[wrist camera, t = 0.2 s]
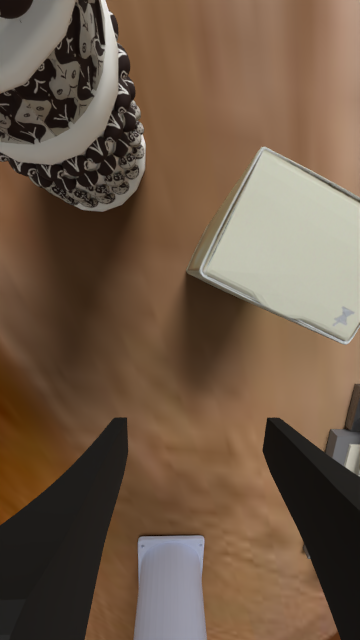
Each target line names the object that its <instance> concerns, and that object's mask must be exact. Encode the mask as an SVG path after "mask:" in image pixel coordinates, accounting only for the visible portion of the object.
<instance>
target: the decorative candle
mask: <svg viewBox="0 0 360 640" xmlns="http://www.w3.org/2000/svg"><path fill="white" fill-rule="evenodd" d="M117 40H118V24H117V21H116V18H115V16H114V15H113V14H112V12H110V11H109V10H108V7H107V4H106V1H105V0H0V161H1V162H4V161H9V164H10V165H11V167H12V168H13V169H14V170H15V171H16V172H17V173H19V174H22V175H25V176H28V177H29V178H30V179H31V181H32V182H33V183H34V184H36V185H37V186H39V187H41V188H45V189H46V190H47V191H48V192H49V193H50V194H52V195H55V196H56V197H58V198H61V199H62V200H64V201H65V202H66V203H68V204H70V205H74V206H76V207H78V208H80V209H81V210H88V211H100V212H104V211H107V210H109V209H112V208H115V207H117V206H120V205H122V204H123V203H124V202H125V201H126V200H127V199H128V198H129V197H130V196H131V195H132V194H133V193H134V192H135V191H136V190H137V188H138V186H139V183H140V181H141V178H142V176H143V173H144V171H145V154H146V144H145V141H144V137H143V133H144V128H143V125H142V124H141V123H140V122H139V121H138V120H139V119H140V117H141V112H140V109H139V107H138V106H137V105H136V103H135V101H134V100H133V99H134V97H135V87H134V84H133V82H132V80H131V79H130V78H129V77H128V74H129V71H130V61H129V58H128V55H127V53H126V51H125V50H124V48H123V47H122V46H121V45H120V44H118V43H117Z"/></svg>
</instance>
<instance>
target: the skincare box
mask: <svg viewBox="0 0 360 640" xmlns="http://www.w3.org/2000/svg"><path fill="white" fill-rule="evenodd" d="M186 272H187V273H188V274H190V275H192V276H194V277H196V278H198V279H200V280H202V281H204V282H206V283H208V284H210V285H212V286H214V287H216V288H218V289H220V290H223V291H225V292H227V293H229V294H231V295H234V296H236V297H238V298H240V299H243V300H245V301H247V302H249V303H251V304H254V305H256V306H258V307H260V308H262V309H265V310H267V311H269V312H271V313H273V314H276V315H278V316H280V317H282V318H285V319H287V320H289V321H291V322H294V323H296V324H298V325H300V326H303V327H305V328H307V329H309V330H312V331H314V332H316V333H318V334H321V335H323V336H325V337H327V338H330V339H332V340H334V341H337V342H339V343H341V344H345V345H346V344H348V343H349V342H350V341H351V340H352V338H353V337H354V335H355V334H356V332H357V330H358V329H359V327H360V197H358V196H356V195H355V194H353V193H351V192H349V191H348V190H346V189H344V188H342V187H340V186H338V185H337V184H335V183H333V182H331V181H329V180H328V179H326V178H324V177H322V176H320V175H318V174H316V173H315V172H313V171H311V170H309V169H307V168H306V167H303V166H301V165H299V164H297V163H295V162H294V161H292V160H290V159H288V158H286V157H284V156H282V155H280V154H278V153H276V152H274V151H272V150H270V149H268V148H267V147H262V148H261V149H260V150H259V151H258V152H257V154H256V155H255V156H254V158H253V160H252V161H251V163H250V164H249V166H248V167H247V169H246V170H245V172H244V173H243V175H242V176H241V178H240V179H239V180H238V182H237V183H236V185H235V186H234V188H233V189H232V191H231V192H230V193H229V195H228V196H227V198H226V199H225V201H224V202H223V204H222V205H221V207H220V208H219V210H218V211H217V213H216V214H215V216H214V217H213V218H212V220H211V221H210V223H209V224H208V226H207V227H206V229H205V231H204V233H203V235H202V237H201V239H200V241H199V243H198V245H197V247H196V250H195V252H194V254H193V256H192V258H191V260H190V262H189V265H188V267H187V269H186Z"/></svg>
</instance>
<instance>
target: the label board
mask: <svg viewBox="0 0 360 640" xmlns="http://www.w3.org/2000/svg"><path fill="white" fill-rule="evenodd" d="M325 453H326V454H327V455H329V456H330V457H331V458H333V459H334V460H336V461H337V462H339V463H340V464H341V465H343V466H344V467H346V468H347V469H349V470H350V471H352V472H353V473H355V474H356V475H358V474H359V471H360V431H351V430H349V429H331V430H330V435H329V439H328V443H327V448H326V452H325ZM303 549H304V551H305V553H306V556H307V558H308V559H310V556H309V554H308V551H307V549H306V546H305V544H304V547H303Z"/></svg>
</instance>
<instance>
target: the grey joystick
mask: <svg viewBox="0 0 360 640" xmlns="http://www.w3.org/2000/svg"><path fill="white" fill-rule="evenodd" d="M345 426H346V427H347V428H348V429H349V430H351V431H360V384H355V387H354V391H353V395H352V399H351V403H350V407H349V411H348V415H347V419H346V424H345Z"/></svg>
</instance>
